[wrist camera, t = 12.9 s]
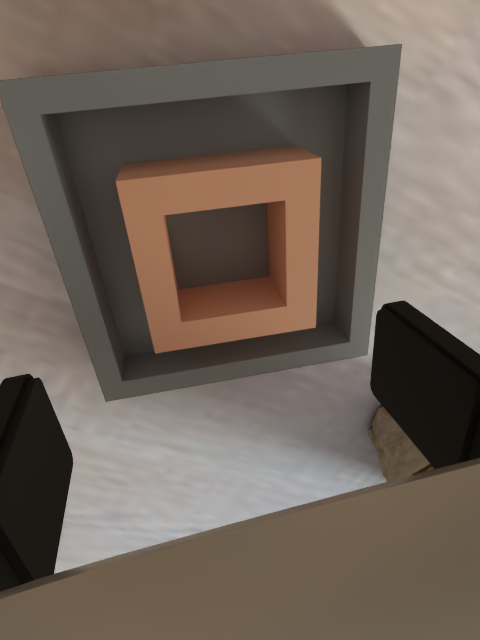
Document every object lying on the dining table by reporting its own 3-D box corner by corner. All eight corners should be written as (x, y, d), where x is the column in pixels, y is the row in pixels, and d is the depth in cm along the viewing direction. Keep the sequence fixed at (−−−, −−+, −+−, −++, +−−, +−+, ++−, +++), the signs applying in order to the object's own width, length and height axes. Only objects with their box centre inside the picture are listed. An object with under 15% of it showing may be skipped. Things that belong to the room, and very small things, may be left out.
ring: (122, 164, 16) (115, 181, 13) (296, 145, 16) (321, 158, 14) (155, 317, 19) (155, 353, 17) (295, 296, 20) (316, 327, 17)
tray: (111, 367, 21) (105, 401, 19) (19, 80, 14) (-6, 80, 12) (346, 328, 22) (367, 354, 20) (367, 48, 16) (402, 44, 13)
